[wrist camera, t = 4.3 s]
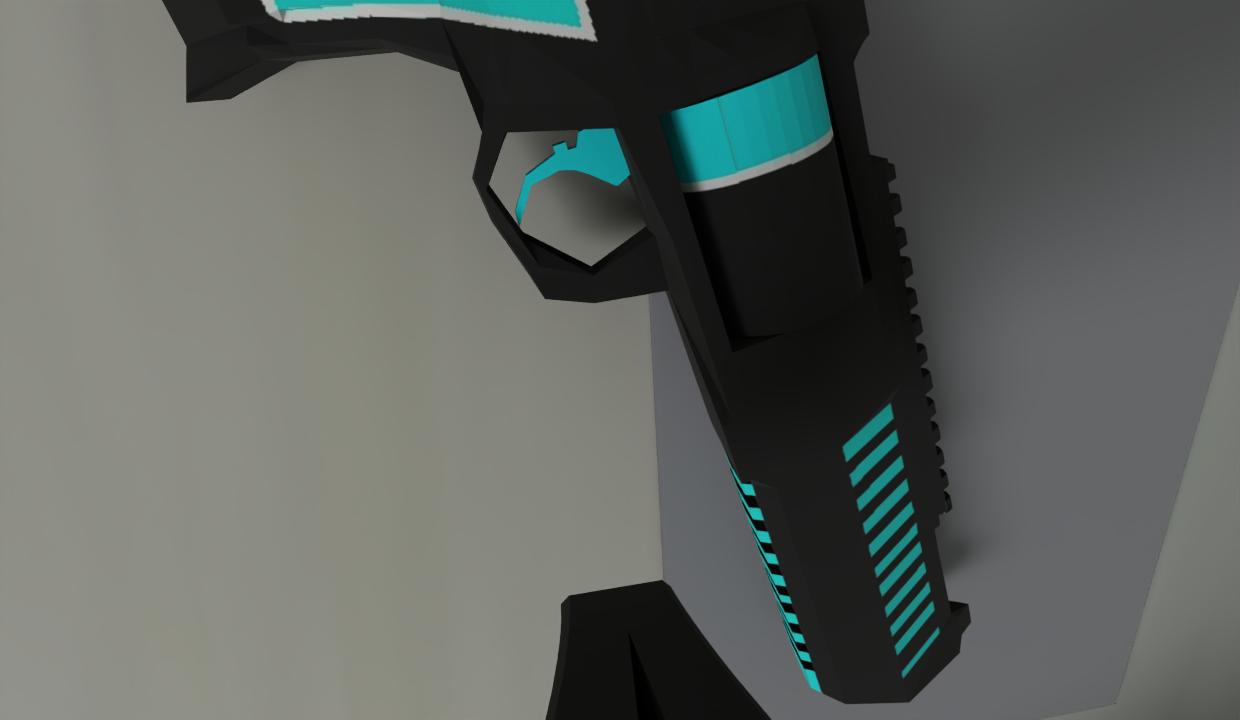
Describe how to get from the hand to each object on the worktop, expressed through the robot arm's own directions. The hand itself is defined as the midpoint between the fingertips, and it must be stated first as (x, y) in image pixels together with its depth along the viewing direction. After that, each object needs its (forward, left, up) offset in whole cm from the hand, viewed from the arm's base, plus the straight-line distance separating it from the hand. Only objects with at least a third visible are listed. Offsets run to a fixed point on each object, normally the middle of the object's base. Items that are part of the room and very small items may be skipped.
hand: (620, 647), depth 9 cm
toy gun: (+1, +1, -5) cm, 5 cm away
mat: (0, -9, -6) cm, 11 cm away
